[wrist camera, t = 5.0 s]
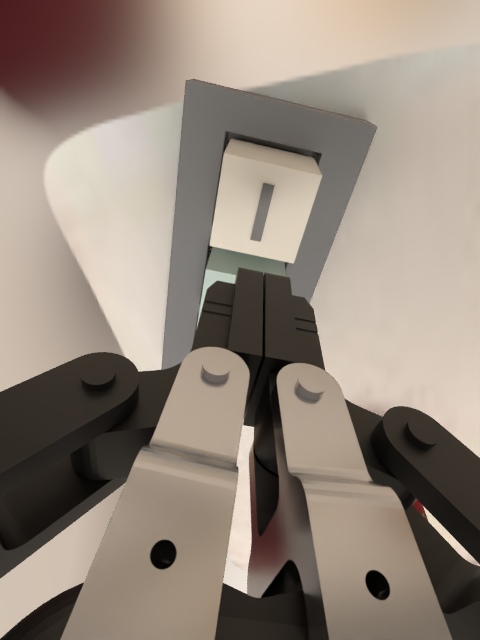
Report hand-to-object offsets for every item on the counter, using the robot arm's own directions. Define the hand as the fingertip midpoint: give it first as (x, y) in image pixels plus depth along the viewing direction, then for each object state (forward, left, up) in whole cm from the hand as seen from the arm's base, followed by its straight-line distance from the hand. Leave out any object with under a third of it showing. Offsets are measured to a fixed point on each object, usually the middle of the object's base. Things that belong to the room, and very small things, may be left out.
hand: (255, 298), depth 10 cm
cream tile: (0, 0, -10) cm, 10 cm away
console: (+3, +5, -12) cm, 13 cm away
